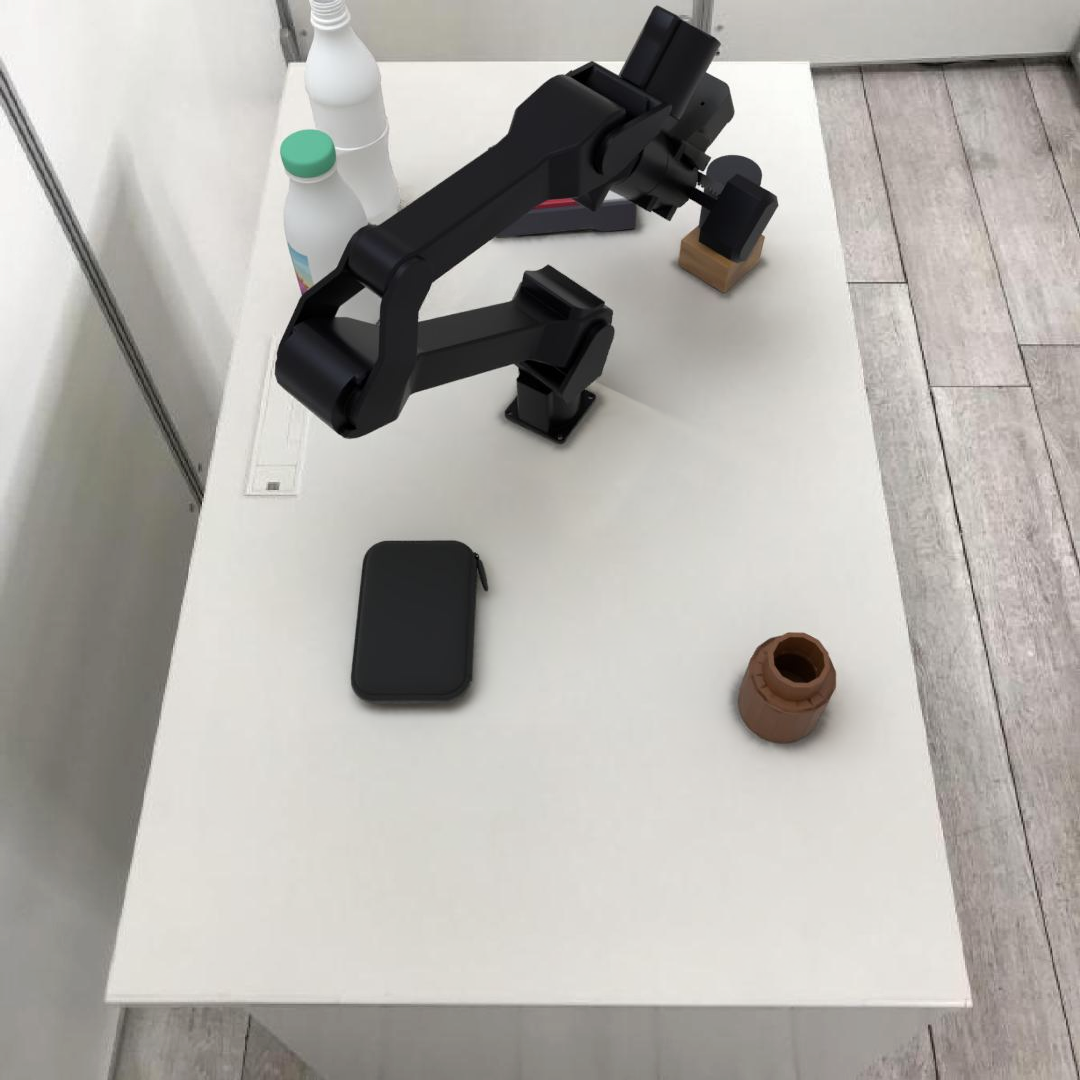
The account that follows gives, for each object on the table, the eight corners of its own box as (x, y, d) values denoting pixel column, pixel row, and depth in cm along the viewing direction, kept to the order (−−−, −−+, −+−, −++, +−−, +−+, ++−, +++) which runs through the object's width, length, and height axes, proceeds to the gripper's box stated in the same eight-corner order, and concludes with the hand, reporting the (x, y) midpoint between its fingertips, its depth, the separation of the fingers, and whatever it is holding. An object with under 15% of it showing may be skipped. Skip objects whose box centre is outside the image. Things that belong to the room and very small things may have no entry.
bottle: (798, 758, 82) (821, 716, 75) (723, 717, 84) (739, 672, 77) (832, 692, 85) (857, 646, 78) (759, 654, 87) (777, 605, 80)
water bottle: (393, 245, 112) (353, 23, 90) (327, 236, 113) (273, 14, 91) (411, 199, 115) (377, -26, 94) (347, 191, 116) (299, -34, 95)
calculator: (486, 140, 115) (625, 126, 114) (490, 172, 118) (625, 159, 118) (490, 211, 109) (637, 196, 109) (494, 242, 113) (636, 228, 112)
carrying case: (485, 709, 85) (490, 550, 92) (483, 694, 82) (488, 531, 90) (351, 710, 85) (367, 551, 92) (345, 695, 82) (362, 532, 90)
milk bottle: (391, 285, 109) (359, 117, 92) (377, 342, 105) (342, 178, 88) (317, 280, 109) (271, 112, 92) (301, 337, 105) (250, 173, 88)
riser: (724, 293, 107) (728, 268, 104) (677, 265, 110) (680, 239, 107) (759, 262, 110) (765, 236, 107) (713, 234, 112) (717, 208, 109)
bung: (735, 263, 105) (747, 199, 98) (688, 244, 106) (696, 179, 99) (758, 231, 107) (771, 166, 100) (711, 213, 109) (722, 147, 102)
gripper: (786, 115, 79) (838, 162, 92) (596, 15, 86) (671, 73, 99) (707, 252, 83) (769, 278, 96) (532, 146, 90) (612, 184, 103)
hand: (705, 199), depth 99 cm, fingers open, 9 cm apart
